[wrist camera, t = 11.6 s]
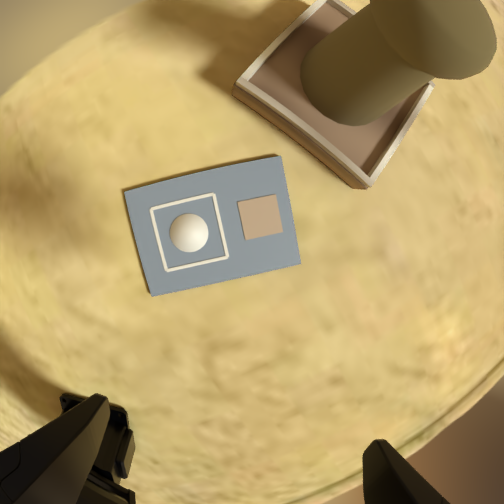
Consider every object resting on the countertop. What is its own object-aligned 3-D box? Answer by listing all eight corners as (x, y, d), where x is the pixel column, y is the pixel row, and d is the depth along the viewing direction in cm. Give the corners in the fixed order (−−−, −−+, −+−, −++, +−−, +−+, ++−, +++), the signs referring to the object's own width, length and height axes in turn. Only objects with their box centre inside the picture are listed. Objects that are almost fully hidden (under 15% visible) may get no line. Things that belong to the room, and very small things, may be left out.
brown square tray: (353, 189, 19) (371, 189, 16) (232, 95, 17) (233, 81, 14) (417, 92, 18) (436, 85, 15) (315, 8, 16) (326, -10, 13)
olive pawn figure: (279, 67, 15) (347, -56, 4) (346, 28, 15) (437, -65, 4) (343, 145, 16) (483, 107, 6) (403, 98, 16) (530, 53, 5)
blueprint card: (152, 295, 19) (151, 296, 19) (125, 191, 18) (123, 192, 17) (299, 262, 20) (301, 264, 19) (279, 156, 18) (281, 155, 18)
